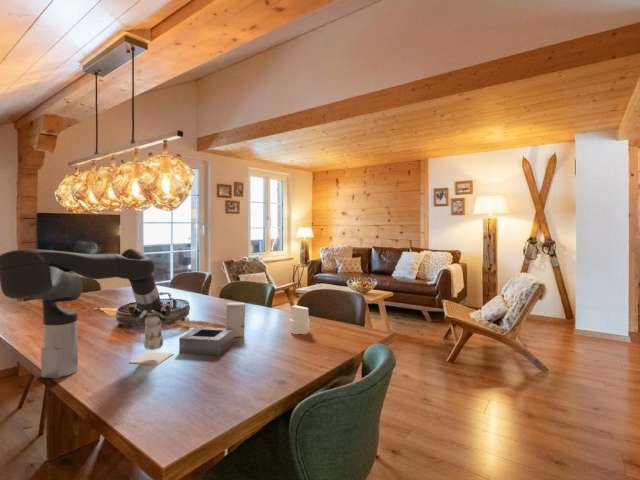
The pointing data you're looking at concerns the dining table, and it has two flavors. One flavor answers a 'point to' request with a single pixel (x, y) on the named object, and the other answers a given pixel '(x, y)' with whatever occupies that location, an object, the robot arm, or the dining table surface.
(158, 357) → the rubber mat
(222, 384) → the dining table surface
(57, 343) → the robot arm
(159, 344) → the plastic bottle
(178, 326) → the dining table surface
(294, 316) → the cylinder with rectangular tab
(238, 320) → the skincare box
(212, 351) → the housing block
